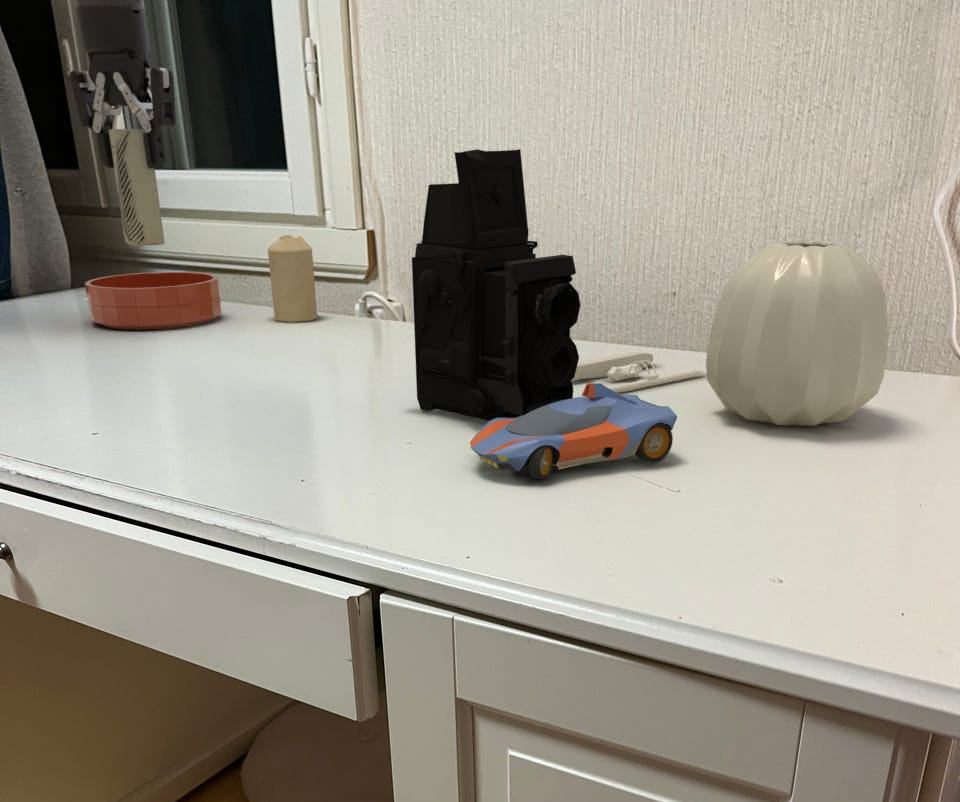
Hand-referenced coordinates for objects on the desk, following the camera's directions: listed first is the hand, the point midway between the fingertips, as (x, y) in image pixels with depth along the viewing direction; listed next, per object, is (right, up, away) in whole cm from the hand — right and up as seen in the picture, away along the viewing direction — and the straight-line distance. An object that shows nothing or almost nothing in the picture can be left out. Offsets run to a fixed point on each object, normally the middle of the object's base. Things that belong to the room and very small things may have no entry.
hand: (134, 167), depth 120 cm
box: (0, -8, +4) cm, 9 cm away
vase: (+68, -39, -38) cm, 87 cm away
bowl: (0, -16, +8) cm, 18 cm away
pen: (+54, -32, -23) cm, 67 cm away
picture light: (+57, -33, -26) cm, 71 cm away
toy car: (+48, -45, -48) cm, 82 cm away
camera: (+44, -39, -36) cm, 69 cm away
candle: (+18, -16, +8) cm, 26 cm away
